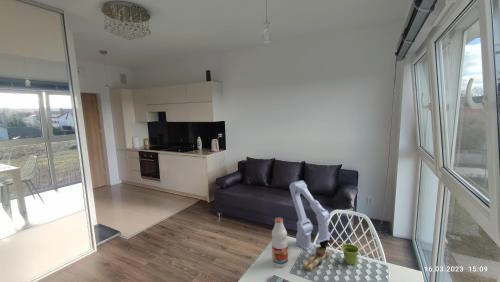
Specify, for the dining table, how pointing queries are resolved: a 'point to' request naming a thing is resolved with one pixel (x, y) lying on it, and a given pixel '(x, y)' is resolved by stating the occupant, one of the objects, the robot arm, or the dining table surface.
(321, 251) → the rider
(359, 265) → the dining table surface
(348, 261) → the plant pot
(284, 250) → the fruit juice
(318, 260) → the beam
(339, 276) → the dining table surface
